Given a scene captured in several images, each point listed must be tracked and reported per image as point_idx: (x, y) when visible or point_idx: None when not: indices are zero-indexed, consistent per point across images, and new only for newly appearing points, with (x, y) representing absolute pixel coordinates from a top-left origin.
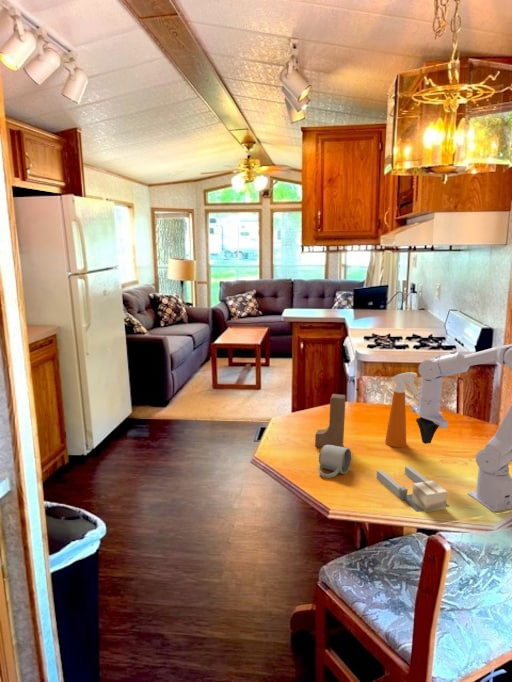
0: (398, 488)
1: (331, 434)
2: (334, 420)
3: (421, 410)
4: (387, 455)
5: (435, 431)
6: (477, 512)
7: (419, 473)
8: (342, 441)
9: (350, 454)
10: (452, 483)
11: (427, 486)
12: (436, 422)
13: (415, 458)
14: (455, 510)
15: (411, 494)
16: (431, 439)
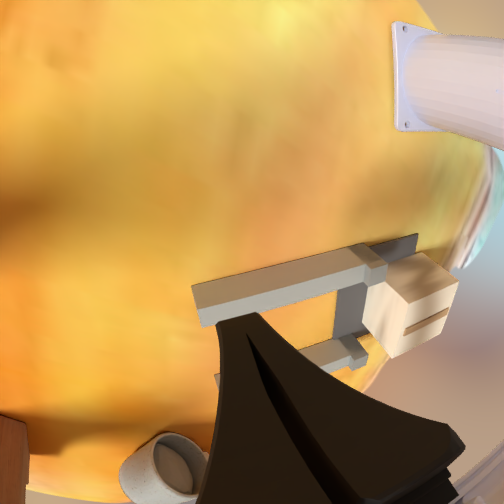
0: (342, 367)
1: (25, 475)
2: None
3: None
4: (16, 316)
5: (346, 385)
6: (454, 171)
7: (276, 289)
8: (10, 437)
9: (154, 466)
10: (310, 130)
11: (421, 326)
12: (478, 482)
13: (24, 199)
14: (431, 225)
15: (337, 317)
16: (273, 333)
